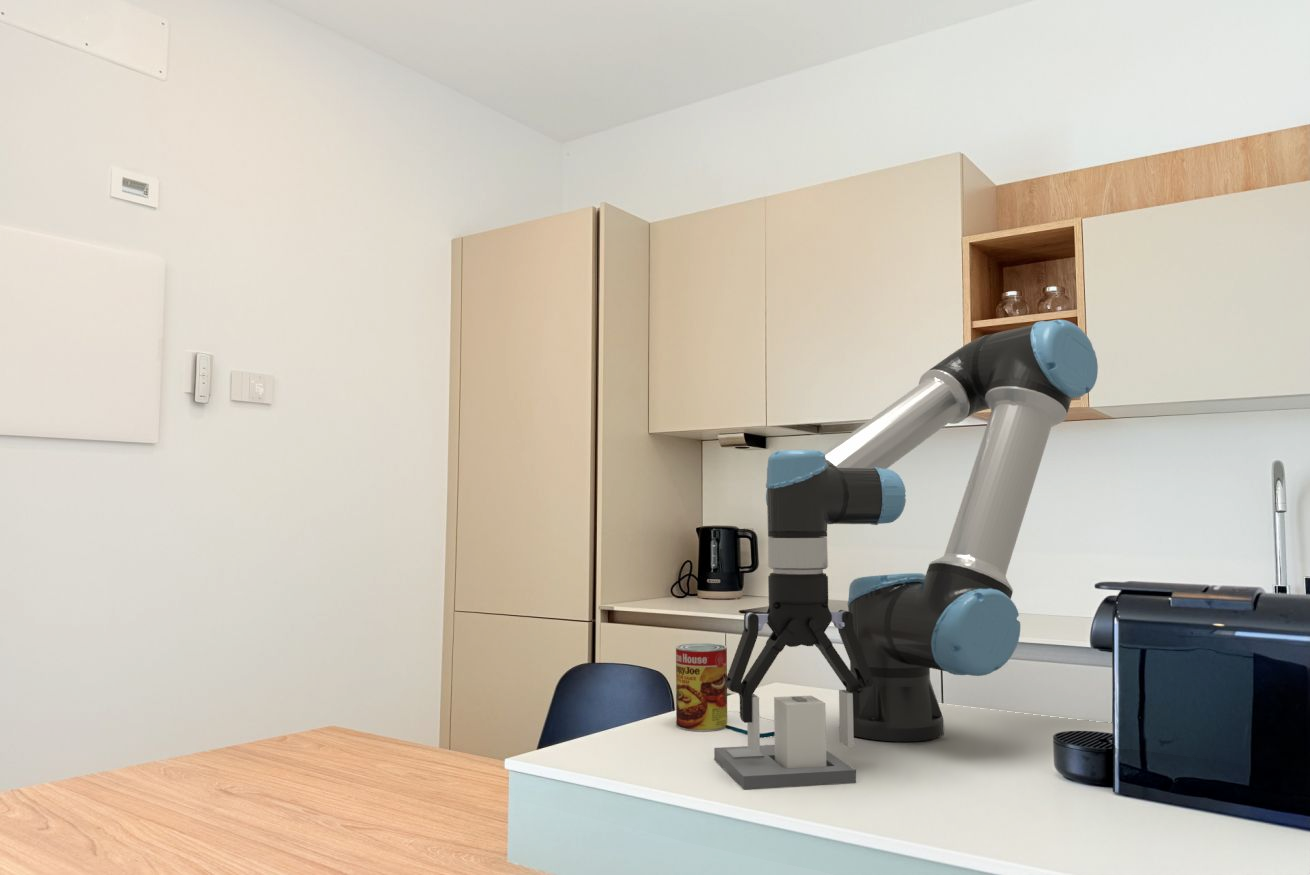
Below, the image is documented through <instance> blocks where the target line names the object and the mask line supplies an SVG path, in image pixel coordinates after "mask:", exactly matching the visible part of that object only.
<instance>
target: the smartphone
mask: <svg viewBox="0 0 1310 875" xmlns="http://www.w3.org/2000/svg"><path fill="white" fill-rule="evenodd" d="M725 729H728V730H729V731H730V730H731V731H733V732H737V733H740V734H742V735H747V736H748V730H747V723H744V722H743V721H742V720H741V718H740V711H737V710H730V711H728V710H727V724H726V728H725ZM759 729H760V739H764V737H766V738H770V736H772V737H775V729H774V720H773V719H769V718H765V717H761V716H759Z"/></svg>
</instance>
